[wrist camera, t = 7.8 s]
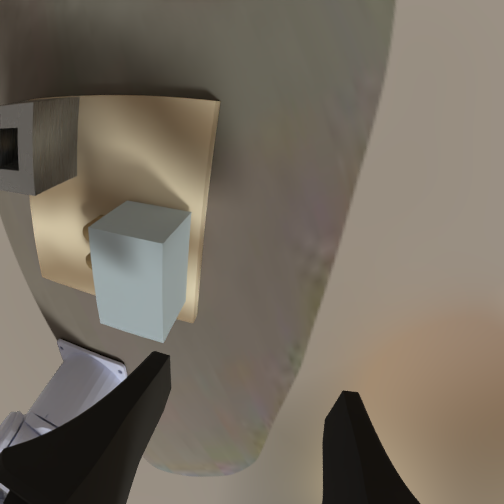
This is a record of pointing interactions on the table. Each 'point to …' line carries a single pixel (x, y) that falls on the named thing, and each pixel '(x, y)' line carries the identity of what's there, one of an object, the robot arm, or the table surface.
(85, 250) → the plate
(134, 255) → the block
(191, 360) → the table surface
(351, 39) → the table surface
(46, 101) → the block
